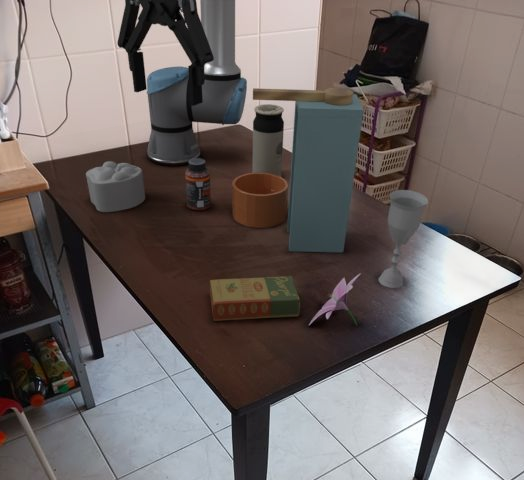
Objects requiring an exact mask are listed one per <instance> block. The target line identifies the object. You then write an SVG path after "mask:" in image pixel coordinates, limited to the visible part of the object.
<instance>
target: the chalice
mask: <svg viewBox="0 0 524 480" xmlns="http://www.w3.org/2000/svg"><path fill="white" fill-rule="evenodd" d="M389 199H390V206H389V211H388V216H387V225H388V231H389V234H390V238H391V241H392V243H393V244H395V248H394V249H393V251H392V253H393V257H391V258H390V261H391V266H390V267H388V268H385V269H384V270H383V271H382V273H381V275H380V276H379V277H378V282H379V284H380V285H382V286H383V287H386V288H390V289H397V288H401V287H402V286H403V285H404V279H403V276H402V275H403V274H402V272H401V271H400V269H399V268H397V267H398V264H400V262H401V260H400V259H399V257H400V255H402V250H401V248H402V246H405V245H406V244H407V243H408V242H409V241H410V240H411V239H412V238H413V236H414V235H415V234H416V233H417V231H418V229H419V227H420V224H421V220H422V215H423V212H424V208H426V206H427V205H428V203H429V200H428V198H427V197H426V196H425V195H424V194H422V193H420V192H418V191H414V190H409V189H397V190H394V191H393V190H392V191H391V192H390V194H389Z"/></svg>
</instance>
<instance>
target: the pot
mask: <svg viewBox="0 0 524 480" xmlns="http://www.w3.org/2000/svg"><path fill="white" fill-rule="evenodd" d="M231 183H232V184H231V189H232V191H231V192H232V194H231V199H232V204H231V205H232V208H231V209H232V218H233V219H234V221H236V222H237V223H238V224H240V225H241V226H242V225H243V226H245V227H249V228H256V229H257V228H258V229H265V228H272V227H276V226H278V225H281V224H282V223H284V221H286V218H287V214H288V212H287V211H288V198H289V197H288V195H289V182H288V181H287V180H286V179H285V178H284V177H282V176H281V177H280V176H277V175H274V174H269V173H252V172H248V173H244V174H240V175H238V176H236V177H235V178H234V179H233V180H232V182H231Z"/></svg>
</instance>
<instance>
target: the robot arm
mask: <svg viewBox="0 0 524 480" xmlns="http://www.w3.org/2000/svg"><path fill="white" fill-rule="evenodd" d="M124 1H125V2H124V3H125V4H124V9H123V14H122V19H121V25H120V29H119V34H118V38H117V46H118V48H121V49H124V50H125V52H126V53H127V60H128V68H129V71H130V72H131V77H132V85H133V92H134V93H140V92H143V91H146V95H147V102H148V110H149V120H150V134H149V140H148V145H147V151H146V153H147V159H148V160H149V162H151V163H153V164H156V165H159V166H164V167H181V166H187V165H189V160H191V159H201V148H200V142H198V140H197V137H196V134H195V131H194V127H193V123H204V124H218V125H222V126H225V125H237V124H238V123H239V122H240V121H241V119H242V117H243V114H244V110H245V105H246V104H245V103H246V98H247V89H248V80H247V79H246V78H244V76H243V77H242V70H241V68H240V66H239V65H237V64H236V0H199V3H200V16H199V12H198V5H197V0H124ZM140 8H142V9H141V11H140ZM139 12H140V13H139ZM153 25H159V26H162V27H168V29H169V30H170V31H172V32H173V34H174V36H175V37H176V40H177V41H178V43H179V44H180V46H181V48H182V49H183V51H184V53H185V55H186V56H187V58H188V60H189V61H190V65H188V66H179V65H178V66H169V67H162V68H159V69H156V70H154V71H152V72H150V73H149V74H148V76H146V70H145V60H144V59H145V58H144V52H143V51H141V50H142V48H141V46H142V45H143V43H144V41H145V39H146V37H147V35H148V33H149V31H150V29H151V28H152V26H153ZM146 77H147V78H146Z"/></svg>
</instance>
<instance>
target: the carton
mask: <svg viewBox="0 0 524 480" xmlns="http://www.w3.org/2000/svg"><path fill="white" fill-rule="evenodd" d="M209 294H210V295H209V297H210V302H211V311H212V312H211V313H212V321H214V322H216V321H232V320H233V321H234V320H251V319H252V320H253V319H269V318H270V319H272V318H296V317H299V316H300V313H301V299H300V296H299V294H298V291H297V287H296V285H295V282H294V278H293V276H292V275H283V276H282V275H281V276H265V277H242V278H225V279H224V278H221V279H210V280H209Z"/></svg>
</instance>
